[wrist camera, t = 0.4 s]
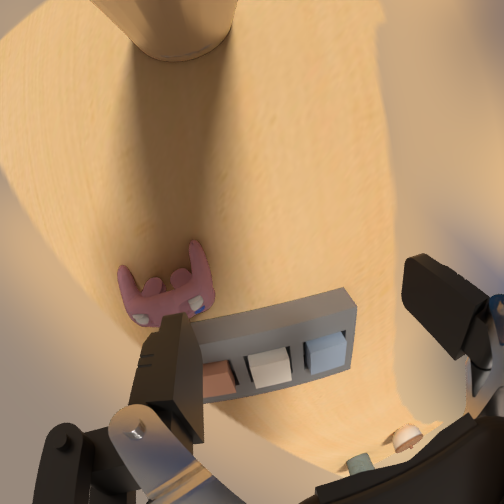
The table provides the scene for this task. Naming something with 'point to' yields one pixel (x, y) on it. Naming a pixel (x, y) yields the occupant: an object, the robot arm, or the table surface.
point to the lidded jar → (406, 437)
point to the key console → (276, 338)
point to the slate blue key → (325, 352)
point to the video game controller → (171, 302)
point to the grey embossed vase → (359, 464)
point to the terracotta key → (218, 379)
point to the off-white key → (270, 367)
